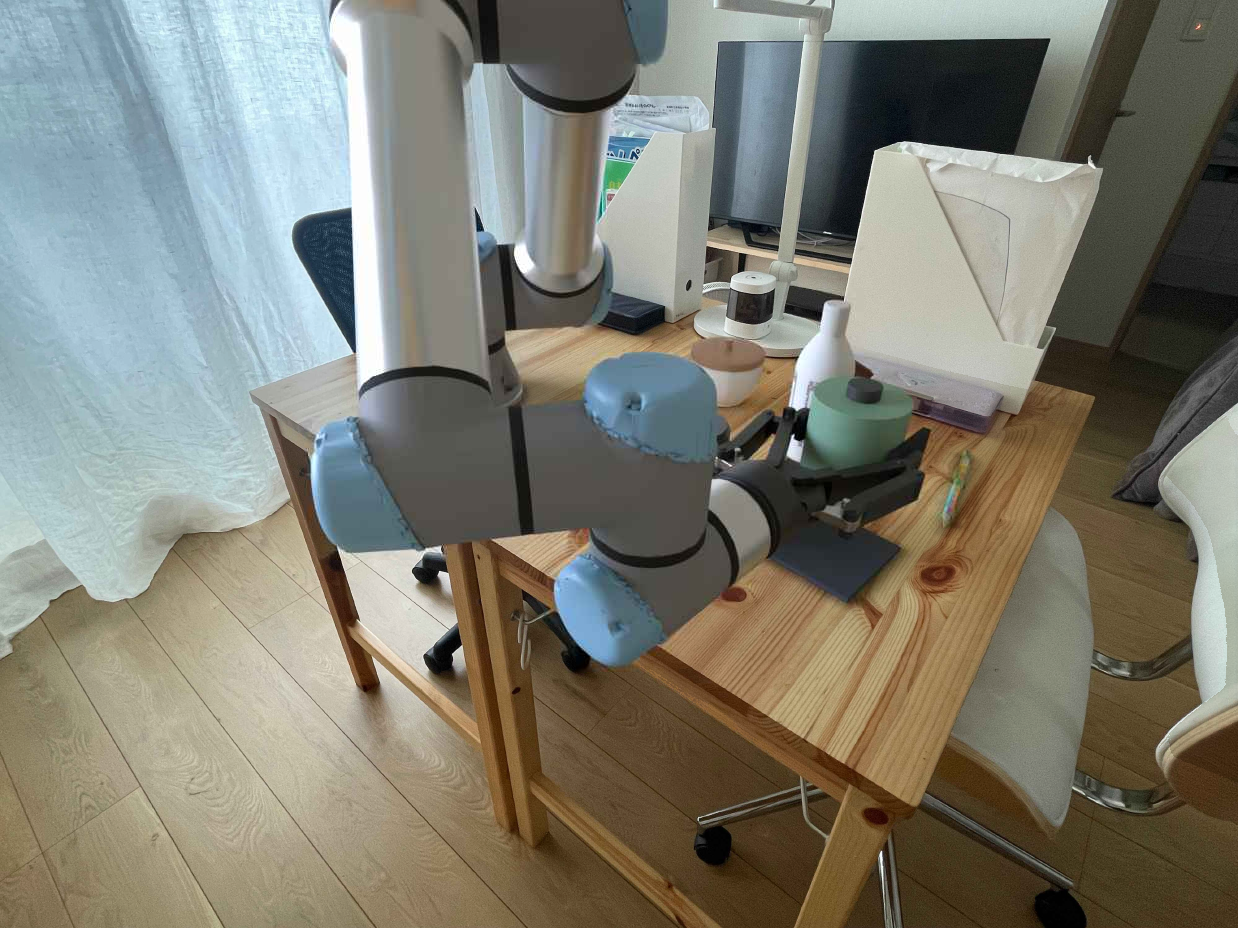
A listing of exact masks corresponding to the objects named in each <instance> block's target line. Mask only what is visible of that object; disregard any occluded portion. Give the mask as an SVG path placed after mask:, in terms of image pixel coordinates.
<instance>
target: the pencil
mask: <svg viewBox="0 0 1238 928" xmlns="http://www.w3.org/2000/svg"><path fill="white" fill-rule="evenodd" d="M974 456H975V455H974V452H973V450H969V449H966V450H964V451H963V452H962V455H961V458H960V461H959V464H958V468H957V471H956V473H955V477H954V479H953V483H952V485H951V488H950V491H949V493H948V497H947V499H946V502H945V505H944V508H943V512H942V515H941V520H942V527H943V529H945V528H947V527H948V526H949V525H950V524H951V522H953V520H954V519H955V516H956V511H957V508H958V505H959V502H960V498H961V495H962V492H963V489H964V486H965V484H966V479H967V477H968V473H969V470H970V467H971V464H972V462H973V458H974Z"/></svg>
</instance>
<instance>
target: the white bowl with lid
mask: <svg viewBox="0 0 1238 928" xmlns="http://www.w3.org/2000/svg"><path fill="white" fill-rule="evenodd" d="M690 357H691V358H690V361H692V362H694V363H696V364H698V365H699V366H701V367H702V368H703V369H704V370H705V371H706V372H707V374H708V375H710V378H712V379H713V381H714V384H715V386H716V391H717V407H721V408H732V407H737V406H739V405H741V404H743V402H744V401H745V400H746V399H748V398H749V397H750V396H751V395H752V394H753V393H754V392H755V391H756V390H757V387H758V384H759V383H760V380H761V378H762V373H763V369H764V364H765V360H766V351H765V349H764V348H763V346H761V345H760V344H758V343H757V342H754V341H751V340H748V339H745V338H740V337H734V336H714V337H713V336H712V337H706V338H702V339H700V340H698V341H696V342H695V343H694V344H693V345H692V346H691V349H690Z"/></svg>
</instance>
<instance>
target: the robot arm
mask: <svg viewBox="0 0 1238 928" xmlns="http://www.w3.org/2000/svg"><path fill="white" fill-rule="evenodd" d="M328 9H329V11H328V20H329V21H328V22H329V43H330V47H331V51H332V55H333V56H334V60H335V62H336V64H337V65H338V67H339V69H340V71H342V74H343V75H344V76H345V77H346V79H347V107H348V108H347V110H348V133H349V134H348V136H349V137H348V141H349V144H348V145H349V169H350V171H349V172H350V197H351V198H350V199H351V200H350V201H351V228H352V229H351V231H352V232H351V233H352V263H353V291H354V292H353V293H354V296H353V297H354V322H355V323H354V324H355V327H354V328H355V353H356V354H355V357H356V384H357V386H356V387H357V395H358V414H357V416H350V415H349V416H348V417H346V418H345V419H343V420H336V421H330V422H328V423H326V424H324V425H323V426H322V427H321V428H320V429H319V430H318V432H317V434H316V435H315V439H314V444H313V448H314V451H313V453H312V455H311V457H310V483H311V492H312V499H313V503H314V510H315V512H316V516H317V518H318V522H319V524H320V525H321V526H320V527H321V528H322V531H323V533H324V535H325V536H326V537H327V539H328V540H329V541H330V542H331V543H332V544H333V545H335V546H336V547H338V548H339V549H340V550H341V551H343V552H345V553H346V554H347V553H348V554H363V553H365V554H366V553H378V552H394V551H413V550H415V551H416V552H423V551H425V550H426V549H432V548H439V547H445V546H451V545H457V544H465V543H474V542H481V541H490V540H497V539H504V538H513V537H523V536H529V535H543V534H552V533H560V532H568V531H579V530H585V529H586V530H588V531H589V549H588V550H587V551H586V552H585V553H581V554H577V555H576V557H574V558H573V560H572V561H570V563H568V564H567V565H566V566H564V567H563V568H562V569H561V571H559V574H558V575H557V578H556V579H555V581H554V585H553V596H554V601H555V605H556V609H557V612H558V614H559V617H560V620H561V621H562V623H563V624H564V627H565V629H566V630H567V632H568V633H569V636H570V637H571V638H572V639H573V641H574V642H575V643H576V644H577V645H578V647H579V648H580V649H582V650H583V651H584V652H585V653H586V654H587V655H588V656H589V657H591V658H592V659H593V660H595V661H596V662H598V663H599V664H602V665H604V666H607V667H612V668H620V667H625V666H628V665H630V664H632V663H633V662H634V661H635V662H636V660H638V659H639V658H641V657H642V656H643V655H645V654H646V653H648V652H649V651H650V650H652V649H653V648H655V647H657V645H658V646H660V645H663V644H665V643H666V642H667V641H668V639H669V638H670V637H672V636H673V635H674V634H675V633H676V632H678V631H679V630H680V629H681V628H682V627H684V626H685V625H686V624H687V623H689V622H690V621H691V620H692V619H694V618H695V617H696V616H697V615H698V614H700V613H701V612H702V611H703V610H705V609H706V608H707V607H708V606H709V605H711V604H712V603H713V602H714V601H716V600H717V599H718V598H719V597H721V596H722V595H723V594H724V593H725V592H726V591H727V590H728V589H730V588H731V587H732V586H734V585H735V584H737V583H738V582H739V581H740V580H742V579H743V578H744V577H746V576H747V575H748V574H749V573H750V572H752V571H754V569H756V568H757V567H758V566H759V565H761V564H762V563H764V561H765V560H767V559H770V558H769V557H770V556H772V555H773V554H774V553H776V552H777V551H778V550H779V549H781V548H782V547H783V546H785V545H786V544H787V543H788V542H790V541H791V540H792V539H793V538H794V537H795V536H796V535H797V534H798V533H799V532H800V531H801V530H802V529H803V528H804V527H805V526H807V525H812V524H817V523H819V522H820V521H824V522H826V523H829V524H831V525H834V526H836V527H839V531H838V536H839V537H841V538H842V539H845V540H850V539H853V538H854V536H855V535H856V534H857V532H858V531H859V530H860V528H861V527H862V528H864V527H865V526H867V525H869V524H872V523H873V522H875V521H877V520H880V519H882V518H884V517H886V516H888V515H890V514H892V513H894V512H896V511H898V510H900V509H902V508H905V507H906V506H909V505H911V504H912V503H915V502H916V501H919V498H920V494H921V491H922V488H923V485H924V483H925V482H924V481H925V478H926V473H925V471H923V470H920V468H921V464H922V461H923V458H924V454H925V452H926V448H927V445H928V442H929V439H930V435H931V433H932V429H931V428H929V427H927V426H923V427H921V428H920V429H918V430H917V431H916V432H914V433H913V434H912V435H910V436H909V437H908V438H906V439H905V440H904V442H903V443H902V444H900V445H899V446H897V447H896V448H895V449H893V450H892V451H891V452H890V454H889V458H888V460H886V461H881V462H876V463H871V464H866V465H860V466H855V467H850V468H845V469H840V470H835V469H834V468H832V467H826V468H820V469H815V470H812V469H809V468H806V467H802V466H801V465H800V463H799V462H797V461H794V460H792V459H791V458H789V457H788V458H787V452H788V448H789V445H790V442H791V437H792V435H794V440H797V441H799V442H801V441H802V440H804V439H805V433H806V428H807V423H808V417H809V412H810V408H807V407H805V408H801V409H799V410H797V411H796V409H795V408H793V407H789V406H785V407H783V408H782V415H781V416H779V415H776V411H775V410H772V409H763V411H761V412H760V413H759V414H758V415H757V416H756V417H755V418H754V419H752V421H751V422H749V424H747V425H746V426H745V427H744V428H743V429H742V430H741V431H740V432H739V433H738V434H737V435H736V436H735V437H734V438H733V439H732V440H731V439H730V441H729V442H726V443H724V444H722V445H719V446H718V443H717V419H718V414H719V411H718V406H717V391H716V386H715V384H714V381H713V379H712V378H710V375H708V374H707V372H706V371H705V370H704V369H703V368H702V367H701V366H699V365H698V364H696V363H694V362H692V361H691V359H688V358H687V357H682V356H679V355H677V354H672V353H666V352H659V351H631V352H625V353H623V354H620V355H619V357H608V358H606V359H602V360H601V361H599V362H598V363H596V364H595V365H594V366H593V367H592V369H590V370H589V372H588V373H587V376H586V379H585V384H584V391H583V392H582V399H579V400H565V401H555V402H543V403H531V404H520V402H521V401H522V399H523V395H524V391H523V383H522V380H521V379H522V378H521V377H520V374H519V372H518V370H517V368H516V365H515V362H514V361H513V359H512V356H511V354H510V352H509V350H508V348H507V343H506V334H505V332H512V331H526V330H527V331H528V330H529V331H530V330H542V329H556V328H574V329H575V328H582V327H585V326H593V325H597V324H600V323H601V322H602V321H604V319H605V318H606V317H607V315H608V313H609V311H610V307H611V304H612V299H613V292H612V289H613V288H614V263H613V259H612V252H611V249H610V248H609V246H608V244H607V243H606V242H604V241H602V240H601V238H600V237H599V235H598V234H597V227H598V220H599V214H600V206H601V205H600V204H601V200H602V192H603V184H604V179H605V171H606V170H605V169H606V163H607V156H608V151H609V142H610V137H611V136H610V135H611V128H612V127H611V126H612V122H613V114H614V108H615V107H616V106H618V105H619V104H620V103H622V102H623V101H624V100H625V98H627V96H628V95H629V93H630V92H631V90H632V88H633V86H634V82H635V80H636V75H637V67H638V65H641V67H642V68H648V67H649V66H650V65H655V64H657V63H658V62H660V61H661V59H663V56H664V54H665V51H666V44H667V38H668V23H669V0H329V1H328ZM475 64H483V65H504V67H505V72H506V74H507V76H508V79H509V80H510V82H511V84H512V85H513V87H514V88H515V89H516V91H517V93H519V94H520V95H521V96H522V113H523V115H522V116H523V118H522V120H523V163H524V165H523V166H524V167H523V168H524V210H525V226H524V227H523V228H522V229H521V230H520V231H519V233H518V235H517V237H516V239H515V243H503V244H501V243H499V244H498V240H497V239H496V237H495V235H494V234H493V233H491V232H489V231H485V230H484V231H483V230H482V231H477V220H476V212H475V211H476V209H475V199H474V189H473V180H472V179H473V178H472V177H473V176H472V170H471V168H472V166H471V159H470V157H471V156H470V149H469V148H470V147H469V137H468V127H467V126H468V125H467V116H466V105H465V94H464V91H465V88H466V87H467V85H468V84H469V82H470V81H471V78H472V75H473V72H474V67H475ZM772 435H774V438H773V441H772V443H771V445H770V447H769V450H768V453H767V456H766V457H765V459H751V458H752V457H753V455H755V454H756V452H757V451H759V449H760V448H761V447H762V446H763V445H764V444H765V443H766V442H767V441H768V440H769V439H770V438H771V437H772ZM714 463H715V464H714ZM713 470H714V473H715V474H717V475H715V476H714V477H713ZM849 499H851V500H849ZM840 501H842V504H838V505H837V506H834V505H835V504H836V503H837V502H840Z"/></svg>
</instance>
